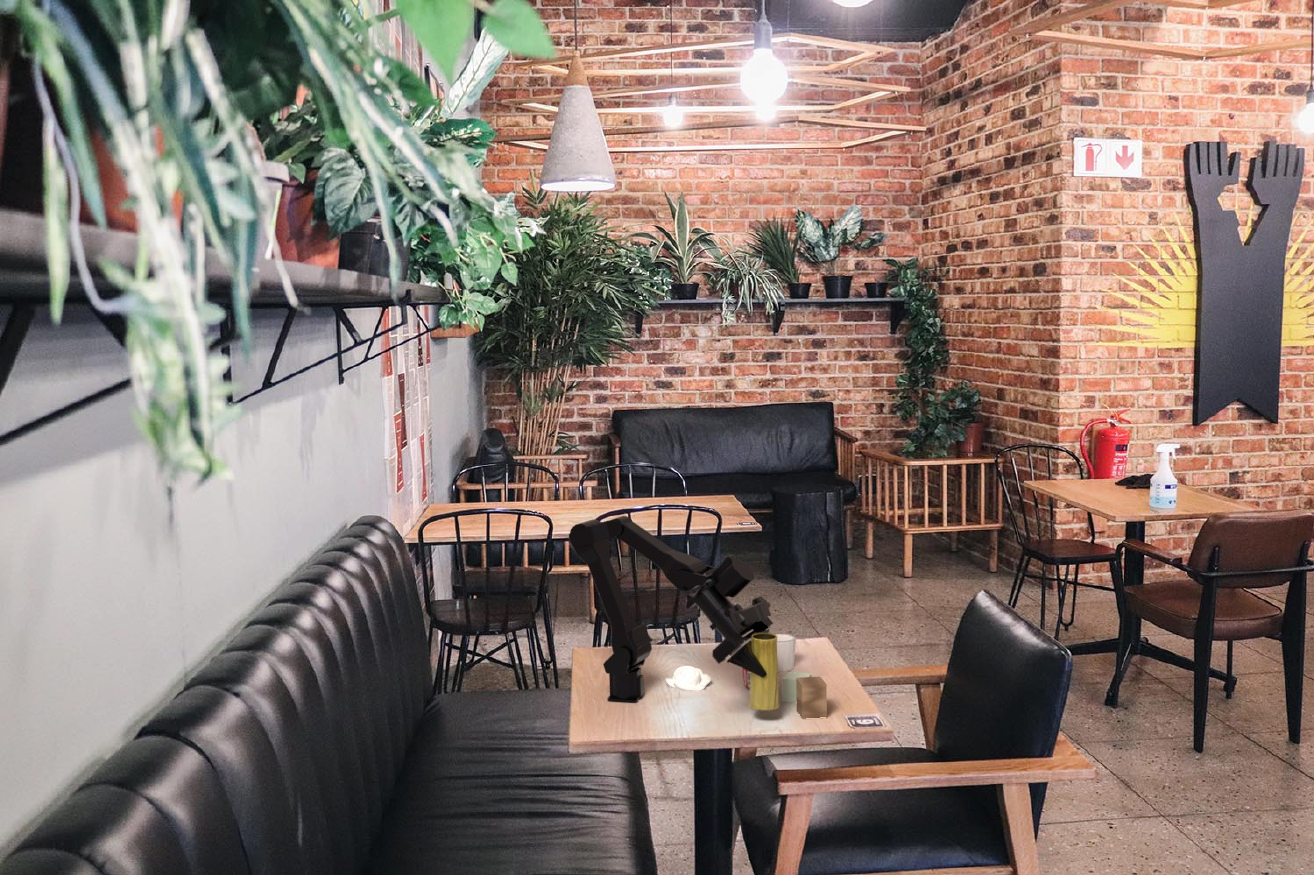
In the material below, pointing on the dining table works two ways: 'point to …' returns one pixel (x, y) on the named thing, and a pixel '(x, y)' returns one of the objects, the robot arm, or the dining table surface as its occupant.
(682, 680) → the rose
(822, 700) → the walnut block
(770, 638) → the vase
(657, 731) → the dining table surface
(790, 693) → the sage block
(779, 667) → the white cup
